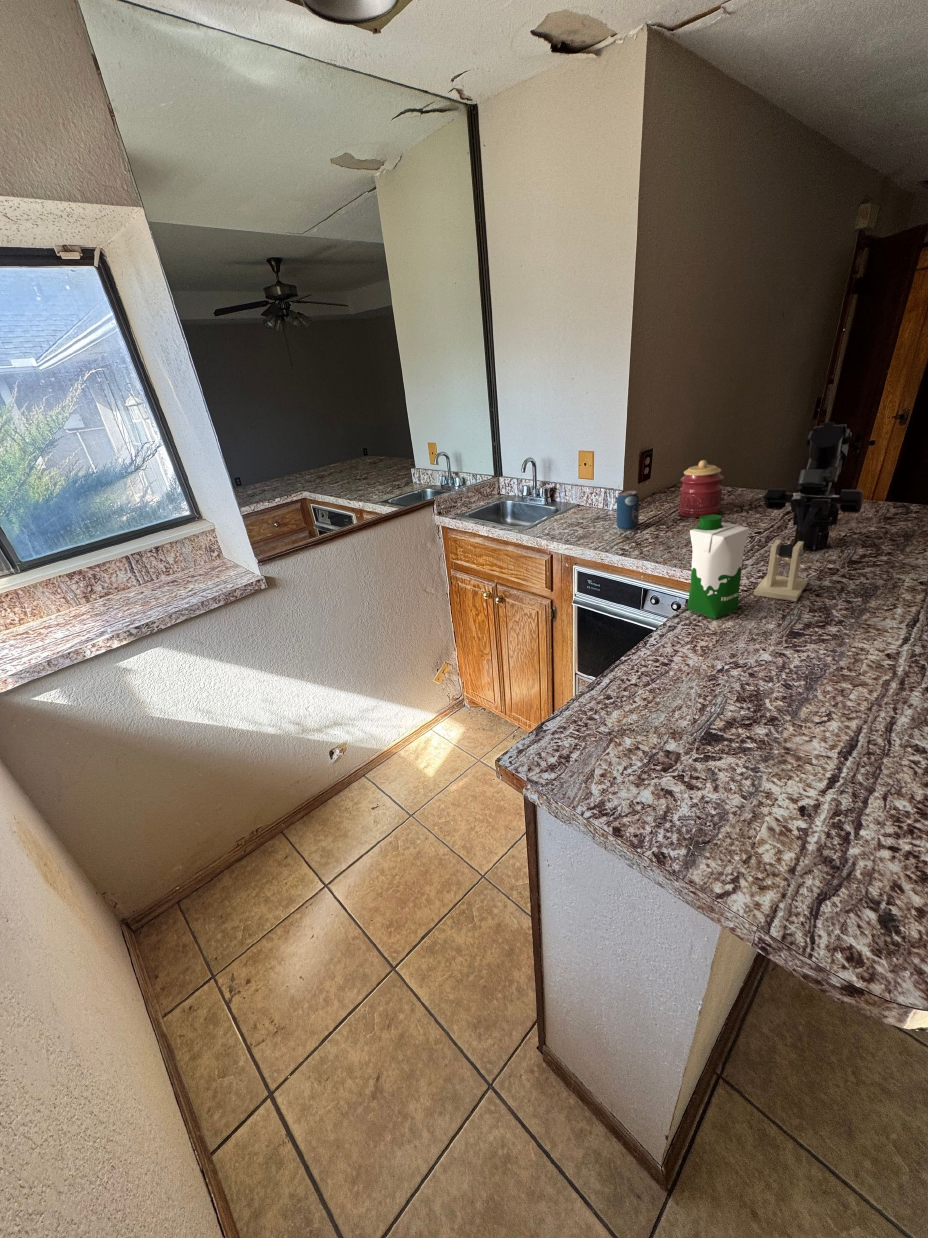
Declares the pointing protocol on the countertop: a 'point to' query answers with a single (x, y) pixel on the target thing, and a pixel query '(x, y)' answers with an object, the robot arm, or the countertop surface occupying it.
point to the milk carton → (716, 566)
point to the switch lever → (786, 553)
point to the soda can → (627, 510)
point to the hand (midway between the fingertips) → (801, 532)
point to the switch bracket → (782, 585)
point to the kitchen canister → (701, 490)
